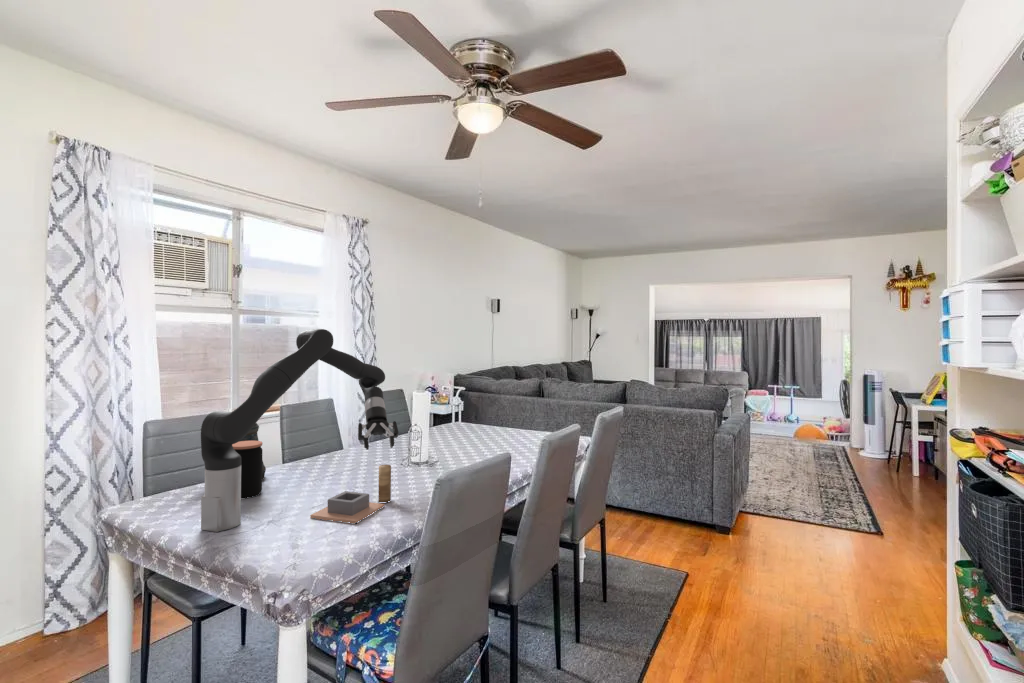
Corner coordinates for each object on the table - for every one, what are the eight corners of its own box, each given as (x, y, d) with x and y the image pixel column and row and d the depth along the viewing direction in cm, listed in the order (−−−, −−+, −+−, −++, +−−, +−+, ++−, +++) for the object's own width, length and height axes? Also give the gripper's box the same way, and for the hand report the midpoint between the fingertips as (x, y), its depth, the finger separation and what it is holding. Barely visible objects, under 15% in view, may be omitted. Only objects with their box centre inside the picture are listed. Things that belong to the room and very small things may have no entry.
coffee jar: (268, 490, 177) (268, 440, 177) (249, 500, 167) (250, 447, 167) (240, 489, 178) (241, 440, 178) (220, 498, 168) (220, 446, 168)
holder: (355, 524, 146) (355, 507, 146) (310, 518, 150) (310, 501, 150) (384, 507, 161) (384, 491, 161) (342, 502, 166) (342, 487, 166)
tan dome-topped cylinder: (386, 503, 164) (387, 468, 164) (376, 502, 165) (376, 467, 165) (392, 500, 168) (393, 465, 168) (382, 499, 169) (382, 464, 169)
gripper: (357, 406, 183) (360, 443, 172) (395, 404, 188) (401, 440, 178) (355, 418, 188) (358, 455, 177) (393, 416, 193) (398, 451, 183)
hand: (379, 447), depth 178 cm, fingers open, 8 cm apart
